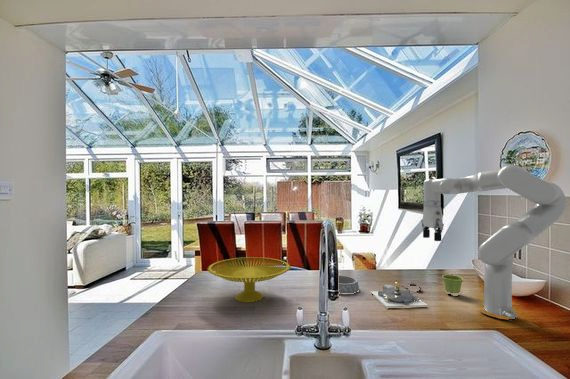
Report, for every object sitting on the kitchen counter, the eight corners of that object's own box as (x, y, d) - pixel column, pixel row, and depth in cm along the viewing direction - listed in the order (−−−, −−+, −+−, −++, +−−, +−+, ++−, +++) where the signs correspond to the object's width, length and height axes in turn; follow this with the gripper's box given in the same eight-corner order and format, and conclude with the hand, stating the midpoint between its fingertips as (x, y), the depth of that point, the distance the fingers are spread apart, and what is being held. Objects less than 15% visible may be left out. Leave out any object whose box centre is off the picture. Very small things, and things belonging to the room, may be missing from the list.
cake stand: (234, 322, 118) (234, 284, 118) (192, 294, 149) (193, 264, 149) (308, 299, 144) (308, 267, 144) (260, 279, 175) (260, 253, 175)
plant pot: (457, 291, 155) (458, 275, 155) (467, 298, 146) (467, 280, 146) (438, 291, 156) (438, 274, 156) (446, 297, 147) (446, 279, 147)
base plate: (427, 307, 134) (427, 305, 134) (386, 308, 132) (386, 306, 132) (407, 293, 153) (407, 290, 153) (370, 293, 151) (370, 291, 151)
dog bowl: (339, 282, 172) (339, 272, 172) (366, 290, 157) (366, 280, 157) (318, 288, 161) (318, 277, 161) (344, 297, 147) (344, 286, 147)
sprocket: (416, 293, 148) (416, 282, 148) (419, 306, 132) (419, 293, 132) (378, 289, 154) (378, 278, 154) (377, 300, 138) (377, 288, 138)
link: (394, 295, 140) (394, 287, 140) (386, 296, 139) (386, 287, 139) (390, 292, 144) (391, 284, 144) (382, 293, 143) (382, 284, 143)
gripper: (450, 205, 139) (450, 242, 139) (429, 203, 157) (429, 236, 157) (434, 205, 139) (434, 242, 139) (415, 203, 156) (415, 236, 156)
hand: (431, 239), depth 148 cm, fingers open, 9 cm apart
